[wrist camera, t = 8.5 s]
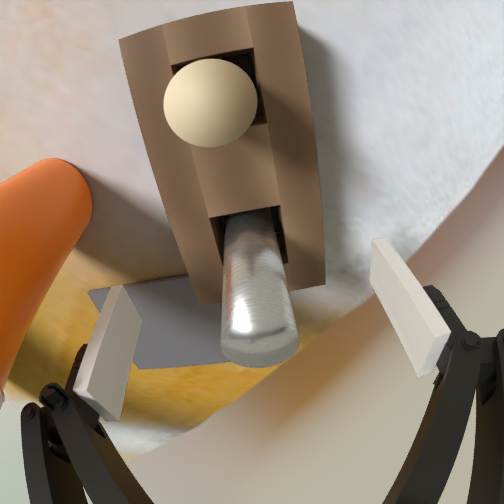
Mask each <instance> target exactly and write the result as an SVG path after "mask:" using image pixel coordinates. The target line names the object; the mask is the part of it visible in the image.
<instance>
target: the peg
mask: <svg viewBox="0 0 504 504" xmlns="http://www.w3.org/2000/svg"><path fill="white" fill-rule="evenodd" d="M298 346H299V337H298V332H297V327H296V322H295V318H294V313H293V308H292V304H291V299H290V295H289V290H288V285H287V281H286V276H285V272H284V268H283V263H282V259H281V254H280V250H279V246H278V241H277V237H276V233H275V228H274V224H273V220H272V216H271V212H270V207H265V208H259V209H254V210H248V211H243V212H237V213H232V214H227V215H226V223H225V244H224V266H223V291H222V321H221V350H222V352H223V354H224V355H225V357H226V358H227V359H229V360H230V361H231V362H233V363H235V364H237V365H240V366H244V367H250V368H263V367H270V366H274V365H277V364H279V363H282V362H284V361H285V360H287V359H288V358H290V357H291V356H292V355H293V354H294V353H295V352H296V350H297V348H298Z"/></svg>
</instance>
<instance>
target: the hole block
mask: <svg viewBox="0 0 504 504" xmlns="http://www.w3.org/2000/svg"><path fill="white" fill-rule="evenodd" d="M119 44H120V49H121V54H122V58H123V62H124V67H125V71H126V75H127V79H128V84H129V88H130V92H131V96H132V99H133V103H134V107H135V111H136V115H137V118H138V122H139V126H140V129H141V133H142V136H143V140H144V143H145V147H146V150H147V154H148V157H149V160H150V164H151V167H152V170H153V173H154V177H155V180H156V183H157V186H158V189H159V192H160V196H161V199H162V202H163V205H164V208H165V211H166V214H167V217H168V220H169V223H170V226H171V228H172V231H173V234H174V237H175V240H176V243H177V246H178V248H179V251H180V254H181V257H182V259H183V262H184V265H185V268H186V270H187V273H188V276H189V278H190V281H191V284H192V286H193V289H194V291H195V294H196V297H197V299H198V302H199V304H200V305H207V304H214V303H220V302H222V291H223V266H224V244H225V236H224V232H223V228H222V224H221V220H220V216H221V215H227V214H232V213H237V212H243V211H248V210H254V209H259V208H265V207H271V206H276V205H277V211H278V218H279V225H280V231H281V232H280V233H276V237H277V241H278V246H279V250H280V254H281V259H282V263H283V268H284V272H285V276H286V281H287V285H288V290H289V291H292V290H298V289H303V288H309V287H314V286H319V285H325V257H324V237H323V221H322V207H321V194H320V182H319V171H318V161H317V151H316V142H315V134H314V126H313V118H312V110H311V103H310V96H309V89H308V82H307V76H306V69H305V63H304V57H303V52H302V46H301V41H300V35H299V30H298V25H297V20H296V15H295V10H294V5H293V1H289V2H277V3H266V4H258V5H250V6H243V7H237V8H231V9H225V10H220V11H215V12H210V13H205V14H201V15H196V16H192V17H188V18H184V19H180V20H177V21H173V22H170V23H166V24H163V25H159V26H156V27H153V28H150V29H147V30H144V31H141V32H138V33H135V34H133V35H130V36H127V37H125V38H122V39H119ZM247 53H250V56H251V61H252V66H253V72H254V77H255V82H256V87H257V93H258V98H259V104H260V109H261V114H257V115H255V117H254V120H253V122H252V124H251V125H250V127H249V128H248V129H247V130H246V132H245V133H244V134H243V135H242V136H240V137H239V138H238V139H236V140H234V141H233V142H231V143H228V144H226V145H223V146H219V147H200V146H196V145H193V144H190V143H188V142H186V141H184V140H183V139H181V138H180V137H179V136H178V135H176V134H175V132H174V131H173V130H172V129H171V127H170V126H169V124H168V122H167V120H166V117H165V113H164V104H163V103H164V95H165V91H166V89H167V86H168V84H169V83H170V81H171V79H172V78H173V77H174V76H175V74H176V73H177V72H178V71H180V70H181V69H182V68H183V67H185V66H187V65H188V64H191V63H193V62H196V61H199V60H204V59H219V58H224V57H229V56H235V55H241V54H247Z"/></svg>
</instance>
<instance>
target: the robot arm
mask: <svg viewBox="0 0 504 504" xmlns="http://www.w3.org/2000/svg"><path fill="white" fill-rule="evenodd" d="M369 282H370V284H371V285H372V287H373V289H374V291H375V293H376V295H377V296H378V298H379V300H380V302H381V304H382V306H383V308H384V310H385V312H386V313H387V315H388V317H389V319H390V321H391V323H392V325H393V327H394V329H395V331H396V333H397V335H398V337H399V339H400V341H401V343H402V345H403V347H404V349H405V351H406V354H407V356H408V358H409V360H410V362H411V364H412V366H413V369H414V371H415V373H416V375H417V377H421V376H424V375H426V374H429V373H432V372H433V370H434V368H435V366H436V365H437V367H438V369H439V371H440V372H439V374H438V375H437V377H436V379H435V381H434V383H433V384H435V386H434V389H433V392H432V395H431V398H430V401H429V404H428V406H427V409H426V412H425V415H424V417H423V420H422V423H421V425H420V428H419V430H418V432H417V435H416V437H415V440H414V442H413V444H412V447H411V449H410V451H409V453H408V455H407V458H406V460H405V462H404V464H403V466H402V468H401V470H400V472H399V474H398V476H397V478H396V480H395V482H394V484H393V486H392V487H391V489H390V491H389V493H388V495H387V496H386V498H385V500H384V502H383V503H382V504H437V503H438V501H439V498H440V496H441V494H442V492H443V490H444V487H445V485H446V483H447V480H448V478H449V475H450V473H451V470H452V468H453V465H454V462H455V460H456V457H457V454H458V451H459V448H460V445H461V442H462V439H463V436H464V433H465V429H466V426H467V422H468V419H469V415H470V411H471V407H472V403H473V399H474V394H475V390H476V433H475V434H476V435H475V448H474V459H473V468H472V476H471V482H470V489H469V494H468V500H467V504H504V329H502V330H500V331H499V333H498V335H497V336H496V337H487V338H480V336H479V335H477V334H476V333H474V332H472V331H467V330H466V329H465V327H464V326H463V324H462V322H461V321H460V319H459V318H458V316H457V315H456V313H455V312H454V310H453V309H452V308H451V307H450V305H449V303H448V302H447V301H446V300H445V298H444V296H443V295H442V293H441V292H440V291H439V290H438V289H436V288H435V287H434V286H432V285H429V286H425V287H422V286H421V285H420V283H419V282H418V281H417V279H416V278H415V276H414V275H413V274H412V272H411V271H410V269H409V268H408V267H407V265H406V264H405V262H404V261H403V260H402V258H401V257H400V256H399V254H398V253H397V252H396V250H395V249H394V248H393V246H392V245H391V244H390V243H389V241H388V240H387V239H386V237H383V238H378V239H372V250H371V265H370V278H369ZM141 324H142V319H141V317H140V315H139V313H138V312H137V310H136V308H135V306H134V304H133V303H132V301H131V299H130V297H129V295H128V293H127V291H126V290H125V288H124V286H123V285H118V286H112V287H111V288H110V291H109V293H108V295H107V298H106V300H105V302H104V305H103V307H102V310H101V312H100V315H99V317H98V320H97V322H96V325H95V327H94V330H93V332H92V335H91V338H90V340H89V343H88V344H83V346H82V347H81V348H80V350H79V351H78V353H77V355H76V358H75V362H74V364H73V366H72V369H71V372H70V375H69V378H68V381H67V384H66V387H65V390H64V389H63V388H62V387H61V386H60V385H59V384H57V383H50V384H48V385H46V386H45V387H44V388H43V389H42V391H41V393H40V396H39V400H40V403H42V404H43V405H44V406H45V407H41V408H40V407H39V406H38V405H37V404H36V403H33V402H32V403H28V404H27V405H25V407H24V408H23V410H22V412H21V434H22V449H23V459H24V468H25V475H26V482H27V488H28V494H29V499H30V504H88V502H87V499H86V496H85V493H84V489H83V487H84V488H85V490H86V492H87V494H88V496H89V497H90V499H91V501H92V503H93V504H154V503H153V502H152V500H151V499H150V498H149V497H148V495H147V494H146V492H145V491H144V490H143V488H142V487H141V486H140V484H139V483H138V482H137V480H136V479H135V477H134V476H133V474H132V473H131V471H130V470H129V468H128V467H127V465H126V464H125V462H124V461H123V459H122V458H121V456H120V455H119V453H118V451H117V450H116V448H115V446H114V445H113V443H112V441H111V440H110V438H109V436H108V435H107V433H106V431H105V429H104V428H103V426H102V424H101V423H100V422H99V421H98V420H99V416H101V417H102V418H103V419H105V420H106V421H115V422H120V417H121V412H122V407H123V402H124V397H125V392H126V387H127V382H128V378H129V373H130V369H131V364H132V360H133V356H134V352H135V348H136V344H137V340H138V336H139V332H140V328H141Z"/></svg>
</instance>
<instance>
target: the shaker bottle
mask: <svg viewBox="0 0 504 504" xmlns="http://www.w3.org/2000/svg"><path fill="white" fill-rule="evenodd" d="M92 206H93V204H92V196H91V193H90V189H89V187H88V185H87V183H86V180H85V179H84V178H83V176H82V175H81V173H80V172H79V171H78V170H77V169H76V168H75V167H73V166H72V165H71V164H69V163H68V162H65V161H63V160H60V159H55V158H52V159H44V160H41V161H39V162H37V163H35V164H33V165H32V166H30V167H28V168H26V169H25V170H23V171H21V172H19V173H18V174H16V175H14V176H12V177H11V178H9V179H7V180H6V181H4V182H3V183H1V184H0V409H1V406H2V404H3V402H4V392H3V389H4V387H5V384H6V381H7V379H8V376H9V373H10V371H11V368H12V366H13V363H14V361H15V358H16V356H17V354H18V351H19V349H20V347H21V344H22V342H23V340H24V338H25V336H26V333H27V331H28V329H29V327H30V325H31V323H32V321H33V319H34V317H35V315H36V313H37V311H38V309H39V307H40V305H41V303H42V301H43V299H44V297H45V295H46V294H47V292H48V290H49V288H50V286H51V284H52V283H53V281H54V279H55V277H56V276H57V274H58V272H59V270H60V269H61V267H62V265H63V264H64V262H65V260H66V259H67V257H68V255H69V254H70V252H71V251H72V249H73V247H74V246H75V244H76V243H77V241H78V240H79V238H80V236H81V235H82V233H83V232H84V230H85V229H86V227H87V226H88V224H89V222H90V219H91V215H92Z"/></svg>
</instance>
